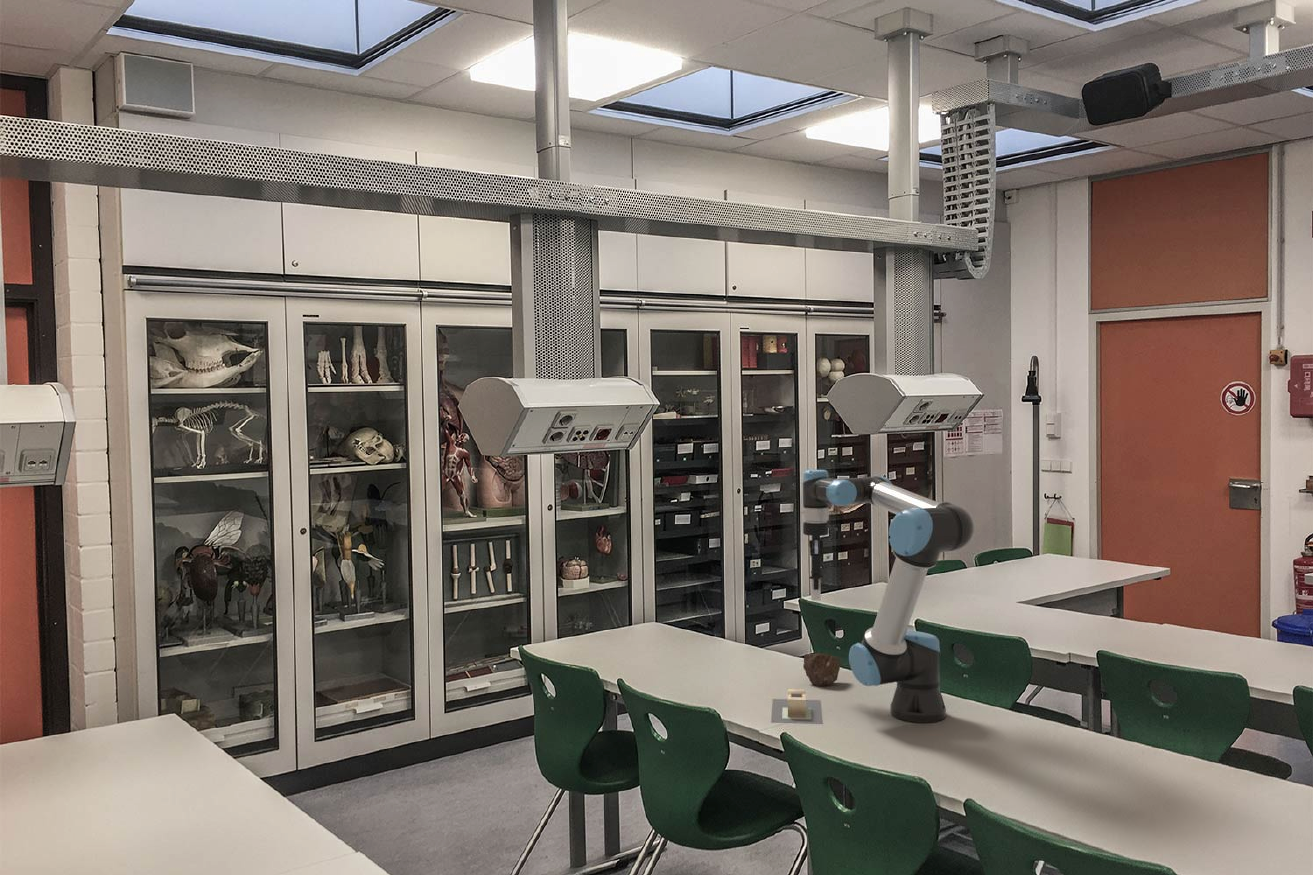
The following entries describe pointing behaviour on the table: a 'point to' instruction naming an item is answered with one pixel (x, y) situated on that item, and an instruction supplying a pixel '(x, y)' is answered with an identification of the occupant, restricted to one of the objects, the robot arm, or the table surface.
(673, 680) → the table surface
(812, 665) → the rock
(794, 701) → the beech block
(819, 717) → the rubber mat
